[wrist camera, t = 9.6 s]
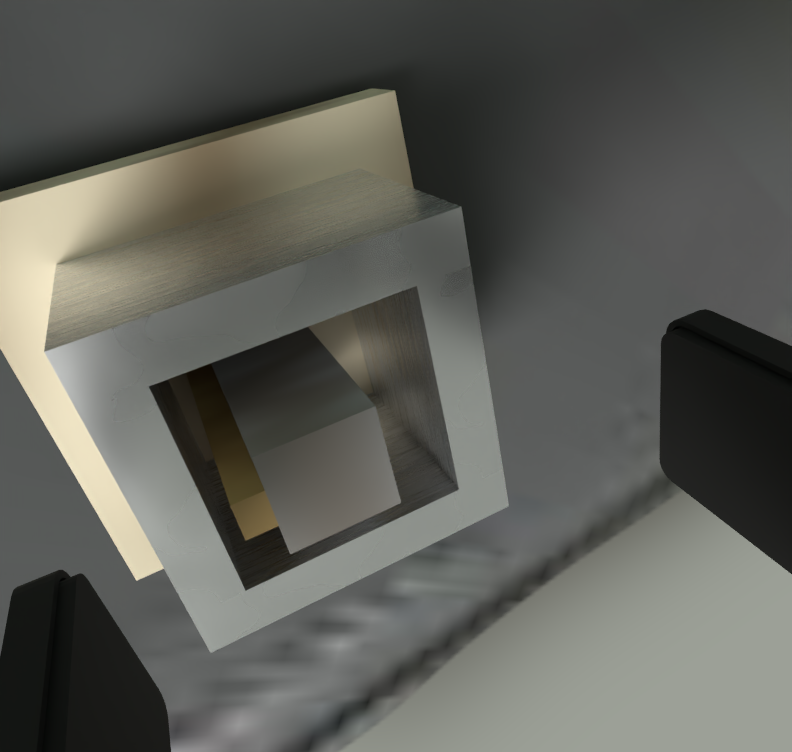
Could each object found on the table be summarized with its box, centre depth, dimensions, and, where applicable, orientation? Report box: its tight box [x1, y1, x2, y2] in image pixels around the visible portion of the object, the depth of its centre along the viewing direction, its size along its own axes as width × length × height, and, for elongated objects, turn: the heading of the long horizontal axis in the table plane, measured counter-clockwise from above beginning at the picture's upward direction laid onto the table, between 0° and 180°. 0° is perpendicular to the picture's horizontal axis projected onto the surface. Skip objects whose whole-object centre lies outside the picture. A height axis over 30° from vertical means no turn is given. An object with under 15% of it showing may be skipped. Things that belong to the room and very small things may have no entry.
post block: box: [0, 88, 414, 581], centre depth 14 cm, size 10×10×8 cm
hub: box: [44, 168, 509, 653], centre depth 14 cm, size 7×7×5 cm
